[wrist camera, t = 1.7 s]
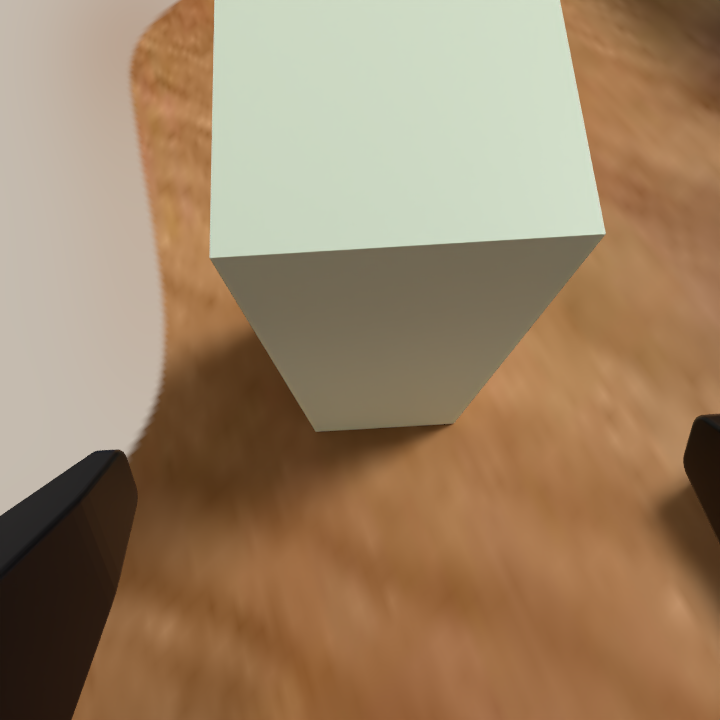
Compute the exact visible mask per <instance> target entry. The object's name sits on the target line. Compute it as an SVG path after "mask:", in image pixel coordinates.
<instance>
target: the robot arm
mask: <svg viewBox="0 0 720 720" xmlns="http://www.w3.org/2000/svg"><path fill="white" fill-rule="evenodd" d="M683 463H684V468H685V472H686V474H687V476H688V478H689V481H690V483H691V485H692V487H693V489H694V491H695V493H696V495H697V498H698V500H699V502H700V504H701V506H702V508H703V510H704V512H705V515H706V517H707V519H708V521H709V523H710V525H711V527H712V529H713V532H714V534H715V536H716V538H717V540H718V542H719V544H720V414H708V415H700V416H698V417H697V418H696V419H695V420H694V422H693V425H692V428H691V432H690V435H689V439H688V442H687V446H686V450H685V453H684V459H683ZM137 499H138V495H137V488H136V485H135V482H134V479H133V476H132V473H131V469H130V466H129V463H128V460H127V457H126V455H125V454H124V452H122V451H120V450H102V451H95V452H93V453H91V454H90V455H88V456H87V457H86V458H84V459H83V460H81V461H80V462H78V463H77V464H75V465H74V466H72V467H71V468H70V469H68V470H67V471H65V472H64V473H62V474H61V475H59V476H58V477H56V478H55V479H53V480H52V481H51V482H49V483H48V484H46V485H45V486H43V487H42V488H40V489H39V490H37V491H36V492H34V493H33V494H32V495H30V496H29V497H28V498H26V499H24V500H23V501H21V502H20V503H18V504H17V505H16V506H14V507H13V508H11V509H10V510H8V511H7V512H5V513H4V514H3V515H1V516H0V720H72V717H73V714H74V711H75V708H76V706H77V703H78V700H79V697H80V694H81V691H82V689H83V686H84V683H85V680H86V677H87V674H88V672H89V669H90V666H91V663H92V660H93V657H94V655H95V652H96V649H97V646H98V643H99V641H100V638H101V635H102V632H103V629H104V626H105V624H106V621H107V618H108V615H109V612H110V609H111V607H112V603H113V600H114V597H115V594H116V591H117V587H118V583H119V580H120V575H121V571H122V567H123V562H124V558H125V554H126V550H127V545H128V541H129V537H130V532H131V528H132V524H133V519H134V515H135V511H136V506H137Z"/></svg>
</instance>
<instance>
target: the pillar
mask: <svg viewBox="0 0 720 720" xmlns="http://www.w3.org/2000/svg"><path fill="white" fill-rule="evenodd" d="M605 234H606V233H605V228H604V223H603V218H602V213H601V208H600V203H599V197H598V192H597V187H596V182H595V177H594V172H593V167H592V162H591V157H590V152H589V147H588V141H587V136H586V131H585V126H584V121H583V116H582V111H581V106H580V101H579V96H578V90H577V85H576V80H575V75H574V70H573V65H572V60H571V55H570V50H569V45H568V39H567V34H566V29H565V24H564V19H563V14H562V9H561V4H560V0H215V6H214V58H213V111H212V163H211V216H210V259H211V261H212V263H213V264H214V266H215V268H216V269H217V271H218V272H219V274H220V276H221V277H222V279H223V281H224V282H225V284H226V286H227V287H228V289H229V290H230V292H231V294H232V295H233V297H234V299H235V300H236V302H237V304H238V305H239V307H240V309H241V310H242V312H243V313H244V315H245V317H246V318H247V320H248V322H249V323H250V325H251V327H252V328H253V330H254V331H255V333H256V335H257V336H258V338H259V340H260V341H261V343H262V345H263V346H264V348H265V349H266V351H267V353H268V354H269V356H270V358H271V359H272V361H273V363H274V364H275V366H276V368H277V369H278V371H279V372H280V374H281V376H282V377H283V379H284V381H285V382H286V384H287V386H288V387H289V389H290V390H291V392H292V394H293V395H294V397H295V399H296V400H297V402H298V404H299V405H300V407H301V409H302V410H303V412H304V413H305V415H306V417H307V418H308V420H309V422H310V423H311V425H312V427H313V428H314V430H315V431H316V432H320V431H337V430H354V429H371V428H388V427H405V426H422V425H439V424H454V423H455V421H456V420H457V419H458V418H459V416H460V415H461V414H462V413H463V411H464V410H465V409H466V408H467V406H468V405H469V404H470V403H471V401H472V400H473V399H474V398H475V396H476V395H477V394H478V393H479V391H480V390H481V389H482V388H483V386H484V385H485V384H486V383H487V381H488V380H489V379H490V378H491V376H492V375H493V374H494V373H495V371H496V370H497V369H498V368H499V366H500V365H501V364H502V363H503V361H504V360H505V359H506V358H507V356H508V355H509V354H510V353H511V351H512V350H513V349H514V348H515V346H516V345H517V344H518V343H519V341H520V340H521V339H522V338H523V336H524V335H525V334H526V333H527V331H528V330H529V329H530V328H531V326H532V325H533V324H534V323H535V321H536V320H537V319H538V318H539V316H540V315H541V314H542V313H543V311H544V310H545V309H546V308H547V307H548V305H549V304H550V303H551V302H552V300H553V299H554V298H555V297H556V295H557V294H558V293H559V292H560V290H561V289H562V288H563V287H564V285H565V284H566V283H567V282H568V280H569V279H570V278H571V277H572V275H573V274H574V273H575V272H576V270H577V269H578V268H579V267H580V265H581V264H582V263H583V262H584V260H585V259H586V258H587V257H588V255H589V254H590V253H591V252H592V250H593V249H594V248H595V247H596V245H597V244H598V243H599V242H600V240H601V239H602V238H603V237H604V235H605Z"/></svg>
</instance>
